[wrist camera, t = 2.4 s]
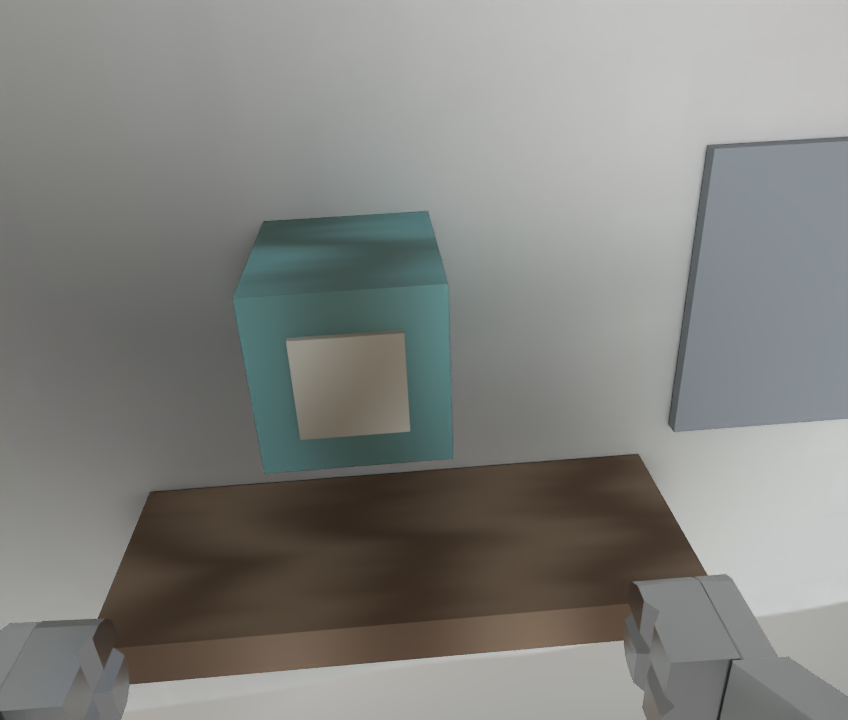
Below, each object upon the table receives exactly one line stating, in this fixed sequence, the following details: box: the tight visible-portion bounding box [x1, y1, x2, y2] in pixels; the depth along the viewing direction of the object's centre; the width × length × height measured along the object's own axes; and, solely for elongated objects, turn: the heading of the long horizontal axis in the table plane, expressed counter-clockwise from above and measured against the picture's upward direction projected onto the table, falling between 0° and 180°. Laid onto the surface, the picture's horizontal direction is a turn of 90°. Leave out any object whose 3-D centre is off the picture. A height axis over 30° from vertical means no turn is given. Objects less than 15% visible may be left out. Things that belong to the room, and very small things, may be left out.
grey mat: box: [669, 137, 848, 432], centre depth 24 cm, size 10×10×1 cm
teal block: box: [233, 211, 453, 474], centre depth 21 cm, size 5×5×6 cm
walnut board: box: [98, 454, 708, 684], centre depth 25 cm, size 18×5×7 cm, turn 93°
